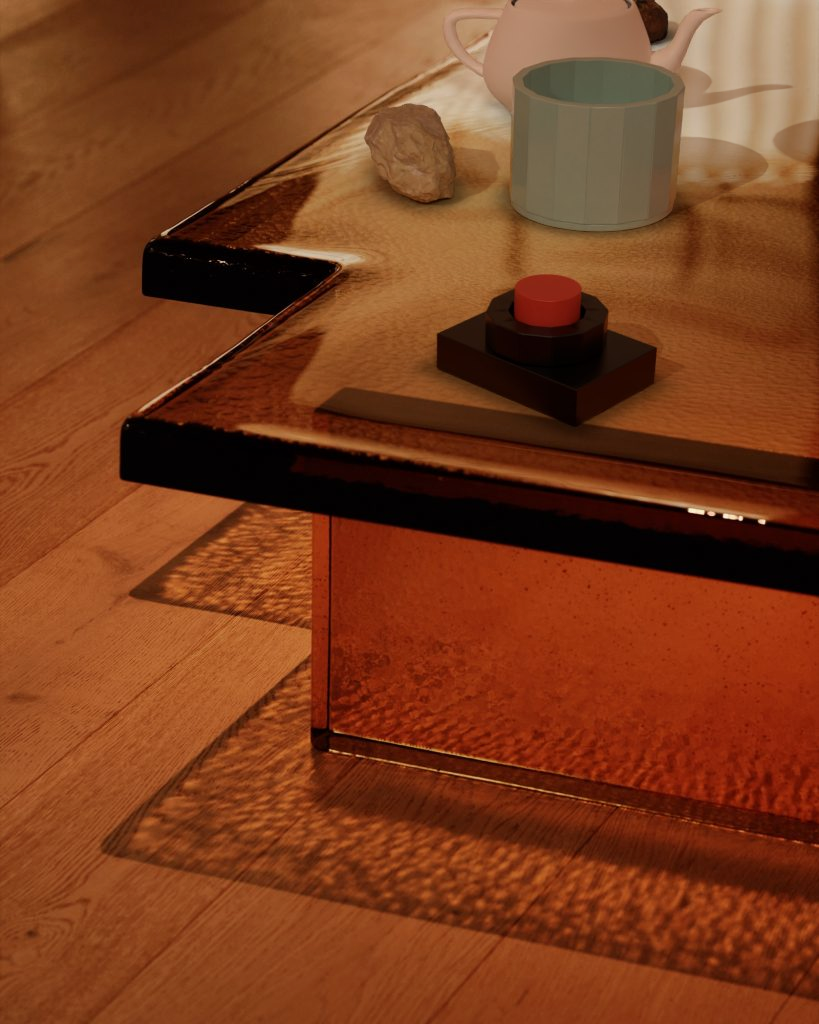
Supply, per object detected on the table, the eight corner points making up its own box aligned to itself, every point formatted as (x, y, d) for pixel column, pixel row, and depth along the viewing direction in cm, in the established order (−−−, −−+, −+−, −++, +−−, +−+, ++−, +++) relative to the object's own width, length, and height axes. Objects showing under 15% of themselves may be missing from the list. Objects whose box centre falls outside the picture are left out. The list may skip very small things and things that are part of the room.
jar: (706, 199, 112) (717, 79, 108) (605, 245, 106) (613, 118, 101) (579, 162, 119) (585, 47, 115) (476, 202, 112) (478, 82, 108)
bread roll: (687, 42, 145) (683, -14, 143) (569, 67, 144) (564, 11, 142) (647, 16, 155) (643, -37, 152) (537, 39, 154) (531, -14, 151)
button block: (654, 383, 89) (660, 316, 87) (574, 427, 84) (578, 358, 82) (517, 329, 95) (519, 266, 92) (436, 368, 90) (436, 303, 88)
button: (593, 316, 88) (595, 286, 87) (551, 336, 85) (552, 306, 84) (542, 297, 90) (543, 268, 89) (500, 317, 88) (501, 287, 87)
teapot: (425, 127, 126) (425, -13, 121) (457, 77, 138) (459, -53, 132) (707, 145, 122) (721, 1, 117) (717, 92, 134) (730, -41, 128)
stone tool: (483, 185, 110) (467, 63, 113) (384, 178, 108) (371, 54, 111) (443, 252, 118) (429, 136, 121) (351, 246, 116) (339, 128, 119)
